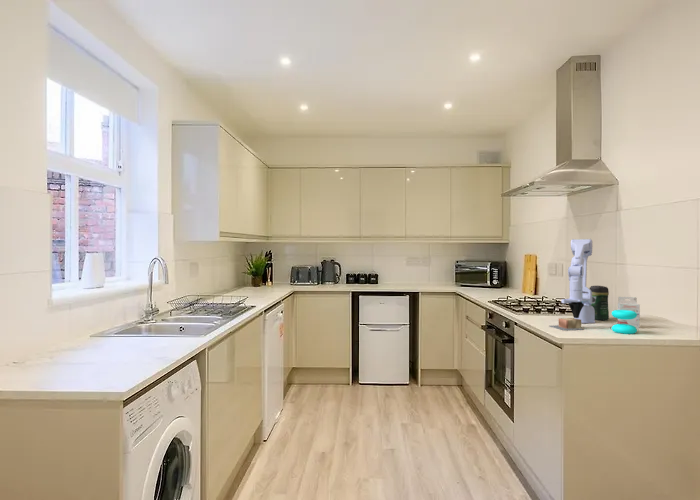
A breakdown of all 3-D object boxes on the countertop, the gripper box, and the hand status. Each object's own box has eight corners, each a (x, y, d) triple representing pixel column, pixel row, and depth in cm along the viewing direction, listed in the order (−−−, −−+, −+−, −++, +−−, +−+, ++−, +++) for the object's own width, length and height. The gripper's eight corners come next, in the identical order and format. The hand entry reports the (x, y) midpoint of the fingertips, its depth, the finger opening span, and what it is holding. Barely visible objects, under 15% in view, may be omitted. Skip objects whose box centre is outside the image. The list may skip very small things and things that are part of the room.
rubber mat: (567, 325, 222) (567, 325, 222) (583, 329, 210) (583, 329, 210) (549, 326, 220) (549, 325, 220) (564, 330, 208) (564, 329, 208)
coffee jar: (611, 320, 237) (611, 286, 237) (597, 320, 236) (597, 286, 236) (600, 317, 246) (599, 284, 246) (586, 318, 246) (586, 285, 246)
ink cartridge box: (619, 327, 216) (619, 297, 216) (617, 325, 221) (617, 296, 221) (640, 328, 213) (639, 298, 213) (637, 326, 218) (636, 297, 218)
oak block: (573, 317, 219) (558, 318, 218) (581, 319, 213) (566, 320, 212) (573, 325, 219) (558, 326, 218) (581, 328, 213) (566, 328, 212)
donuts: (607, 310, 205) (618, 308, 210) (607, 331, 205) (618, 329, 210) (630, 313, 196) (641, 311, 202) (630, 335, 196) (641, 333, 202)
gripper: (567, 291, 211) (568, 319, 211) (594, 290, 213) (595, 318, 213) (558, 289, 218) (558, 317, 218) (584, 289, 220) (585, 316, 220)
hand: (576, 317), depth 216 cm, fingers closed
